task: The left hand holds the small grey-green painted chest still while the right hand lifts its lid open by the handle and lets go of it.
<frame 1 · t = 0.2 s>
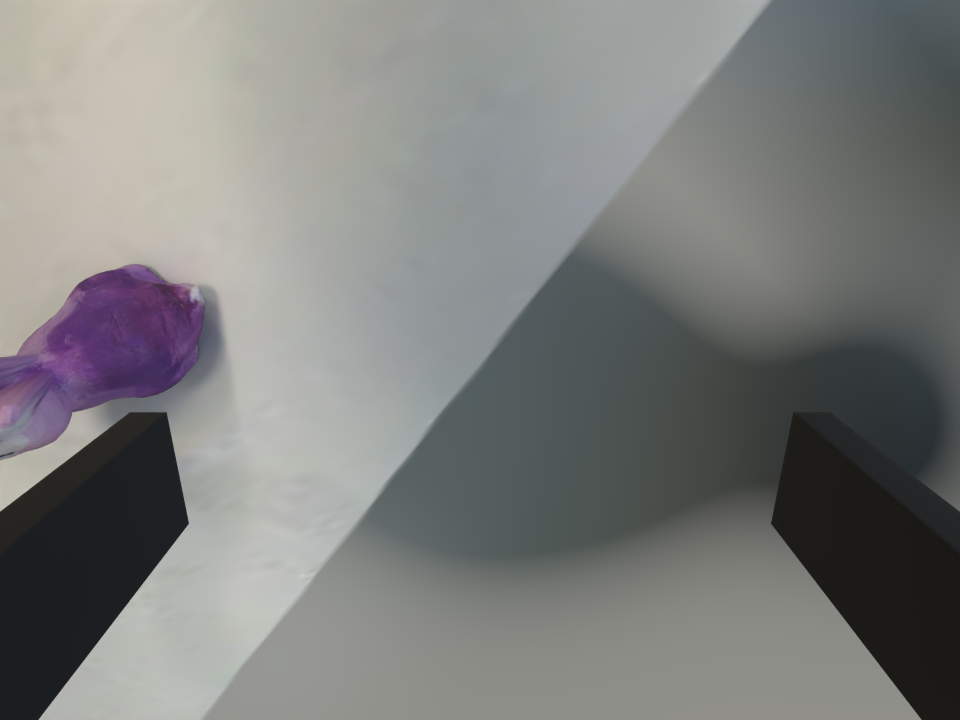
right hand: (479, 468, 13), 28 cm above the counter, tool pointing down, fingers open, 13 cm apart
figurine: (144, 333, 41), on the counter
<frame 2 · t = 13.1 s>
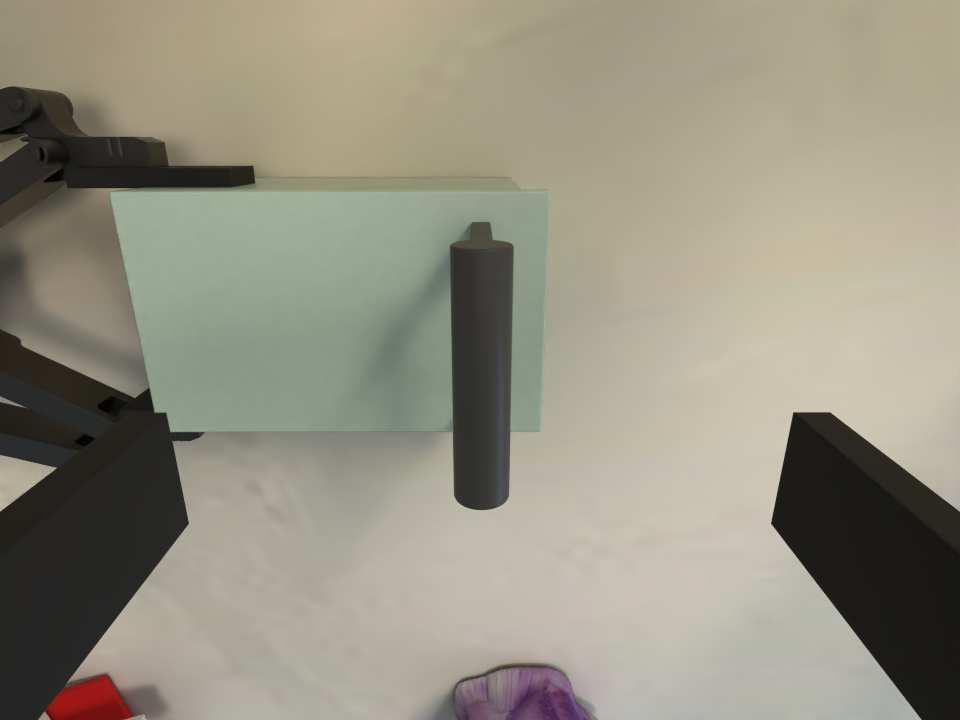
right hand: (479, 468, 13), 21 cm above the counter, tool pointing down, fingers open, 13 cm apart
chest: (371, 270, 32), on the counter, touching left hand
figurine: (513, 704, 44), on the counter
lid: (321, 345, 20), point 13 cm above the counter, hinge at 0.0°
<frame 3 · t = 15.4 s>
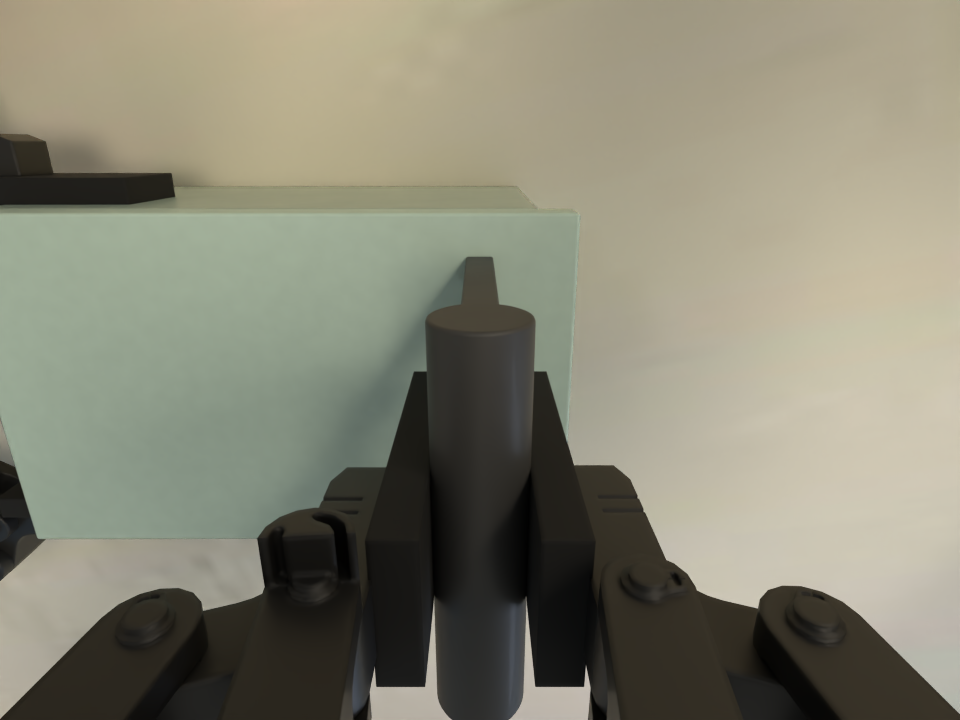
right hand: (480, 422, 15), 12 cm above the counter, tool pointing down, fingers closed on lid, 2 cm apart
chest: (341, 302, 26), on the counter, touching left hand
lid: (240, 444, 14), point 13 cm above the counter, hinge at 0.1°, touching right hand
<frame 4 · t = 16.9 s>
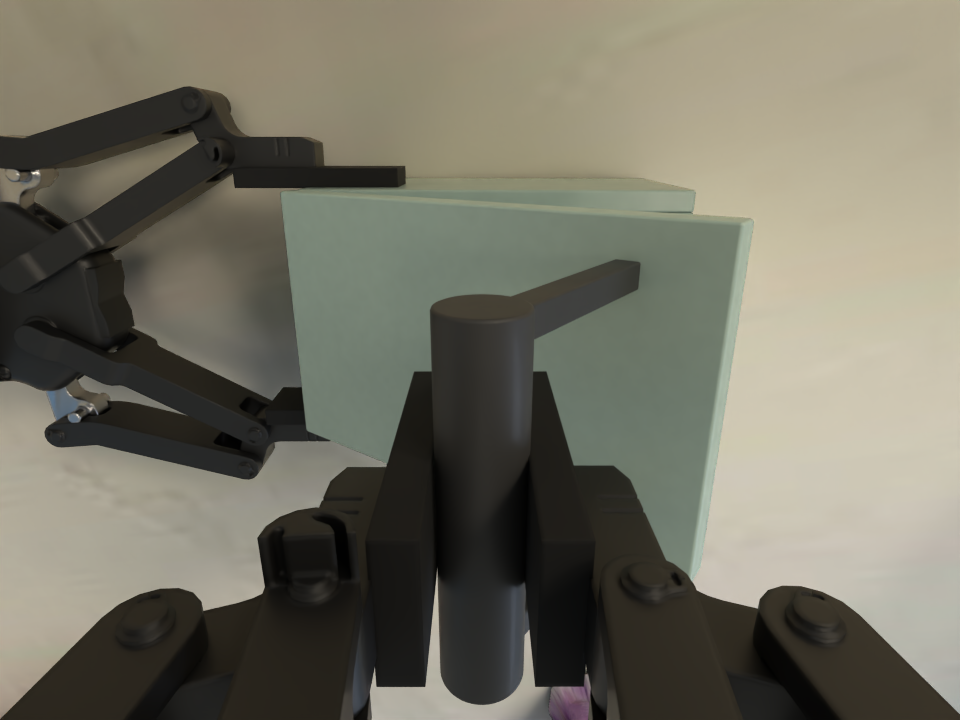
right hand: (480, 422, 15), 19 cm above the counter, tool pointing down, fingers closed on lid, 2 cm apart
left hand: (406, 298, 26), fingers closed on chest, 10 cm apart
chest: (494, 271, 32), on the counter, touching left hand
figurine: (606, 704, 43), on the counter
lid: (388, 390, 17), point 17 cm above the counter, hinge at 34.3°, touching right hand
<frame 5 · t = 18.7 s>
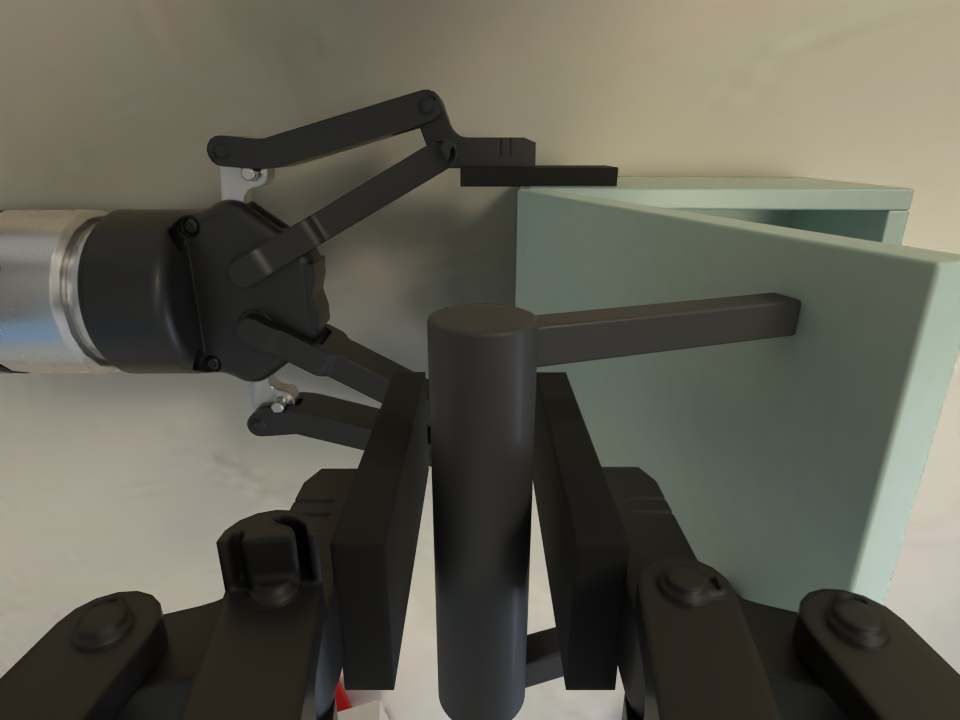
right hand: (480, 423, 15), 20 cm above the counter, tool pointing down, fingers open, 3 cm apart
left hand: (602, 292, 27), fingers closed on chest, 10 cm apart
chest: (652, 267, 33), on the counter, touching left hand
lid: (524, 392, 16), point 18 cm above the counter, hinge at 69.4°
when the left hand's fingers open (6 cm above the counter, at t = 22.8 s): chest stays where it is, on the counter.
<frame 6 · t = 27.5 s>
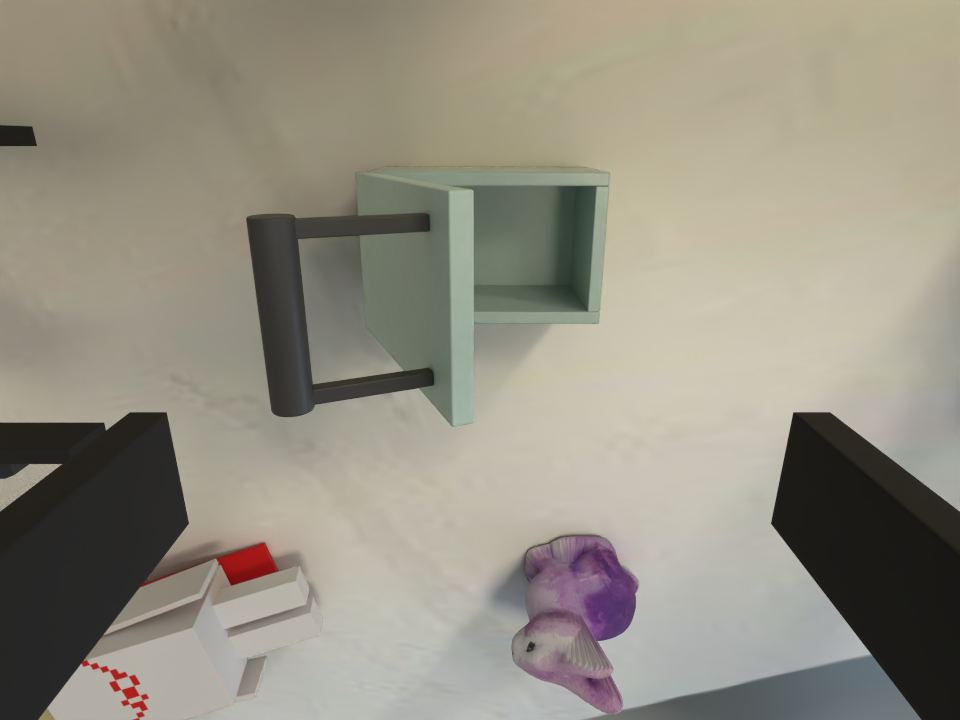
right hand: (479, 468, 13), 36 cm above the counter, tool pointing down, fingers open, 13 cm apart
toy: (178, 599, 59), on the counter
chest: (485, 232, 46), on the counter
figurine: (568, 568, 57), on the counter
lid: (336, 282, 29), point 18 cm above the counter, hinge at 66.7°
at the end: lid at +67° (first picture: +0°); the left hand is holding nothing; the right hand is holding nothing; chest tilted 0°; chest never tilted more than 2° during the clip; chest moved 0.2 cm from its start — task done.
